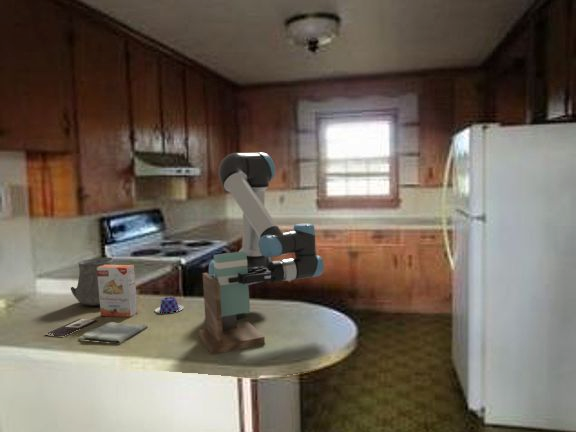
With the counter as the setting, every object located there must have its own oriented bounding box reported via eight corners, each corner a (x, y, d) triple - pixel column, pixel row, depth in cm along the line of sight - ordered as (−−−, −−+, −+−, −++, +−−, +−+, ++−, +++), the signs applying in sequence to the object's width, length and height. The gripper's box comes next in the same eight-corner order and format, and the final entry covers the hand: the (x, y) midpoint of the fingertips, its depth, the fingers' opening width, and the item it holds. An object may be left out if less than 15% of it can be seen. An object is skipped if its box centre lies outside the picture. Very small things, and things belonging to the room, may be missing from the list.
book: (217, 312, 159) (213, 254, 157) (245, 308, 163) (242, 251, 161) (220, 316, 155) (217, 257, 153) (250, 311, 159) (246, 253, 157)
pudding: (152, 309, 202) (151, 297, 202) (180, 304, 208) (179, 293, 207) (157, 316, 192) (156, 304, 191) (186, 311, 197) (186, 299, 196)
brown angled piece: (248, 327, 172) (244, 267, 170) (264, 344, 156) (261, 277, 154) (199, 336, 166) (195, 274, 163) (211, 354, 149) (207, 285, 147)
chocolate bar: (43, 334, 174) (79, 318, 191) (44, 337, 174) (79, 321, 191) (63, 336, 171) (97, 320, 188) (63, 338, 171) (97, 322, 188)
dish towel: (149, 328, 178) (148, 320, 178) (120, 346, 161) (119, 337, 161) (108, 326, 183) (107, 318, 183) (75, 342, 166) (74, 334, 166)
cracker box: (100, 316, 194) (95, 267, 192) (108, 312, 200) (104, 264, 198) (130, 318, 191) (126, 267, 188) (138, 313, 196) (134, 264, 194)
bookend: (234, 325, 168) (233, 306, 168) (236, 327, 166) (235, 308, 165) (209, 329, 165) (208, 310, 164) (211, 331, 163) (210, 312, 162)
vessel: (80, 314, 199) (76, 267, 197) (69, 303, 217) (65, 260, 215) (131, 303, 212) (128, 259, 210) (116, 294, 230) (113, 253, 227)
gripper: (291, 286, 157) (223, 297, 148) (272, 276, 173) (210, 285, 164) (290, 264, 156) (222, 273, 147) (271, 256, 173) (209, 264, 164)
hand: (216, 279), depth 156 cm, fingers closed on book, 5 cm apart
